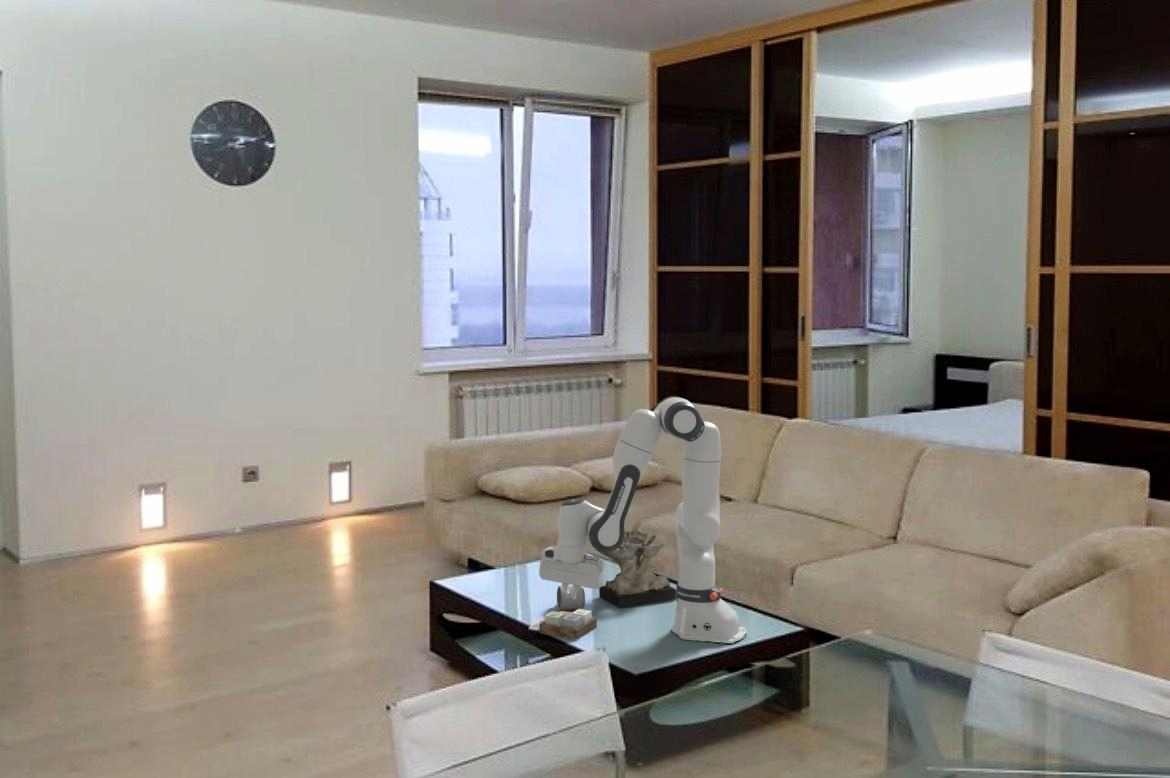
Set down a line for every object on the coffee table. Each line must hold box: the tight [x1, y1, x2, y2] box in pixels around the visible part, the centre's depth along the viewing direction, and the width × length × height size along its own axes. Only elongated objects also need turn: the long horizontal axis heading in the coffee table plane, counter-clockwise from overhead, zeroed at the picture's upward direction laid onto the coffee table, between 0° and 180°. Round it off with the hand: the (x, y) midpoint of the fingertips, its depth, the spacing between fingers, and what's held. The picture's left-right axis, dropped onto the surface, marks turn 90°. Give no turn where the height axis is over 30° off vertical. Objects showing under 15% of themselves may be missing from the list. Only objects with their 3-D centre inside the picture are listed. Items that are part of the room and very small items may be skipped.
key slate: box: [563, 614, 582, 629], centre depth 346 cm, size 4×4×4 cm
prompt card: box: [528, 617, 545, 632], centre depth 354 cm, size 3×10×1 cm, turn 153°
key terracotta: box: [558, 610, 573, 617], centre depth 354 cm, size 4×4×4 cm
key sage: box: [544, 610, 565, 626], centre depth 348 cm, size 4×4×4 cm
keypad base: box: [538, 611, 598, 640], centre depth 350 cm, size 13×13×3 cm
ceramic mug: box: [556, 585, 586, 611], centre depth 372 cm, size 11×8×8 cm
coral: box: [596, 527, 676, 609], centre depth 382 cm, size 25×20×22 cm
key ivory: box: [571, 608, 593, 623], centre depth 351 cm, size 4×4×4 cm
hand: (570, 598), depth 345 cm, fingers closed
